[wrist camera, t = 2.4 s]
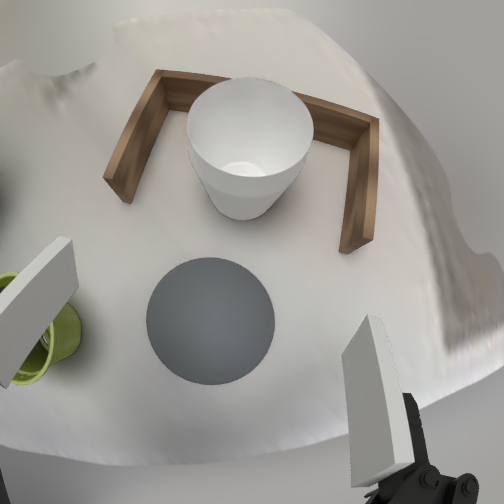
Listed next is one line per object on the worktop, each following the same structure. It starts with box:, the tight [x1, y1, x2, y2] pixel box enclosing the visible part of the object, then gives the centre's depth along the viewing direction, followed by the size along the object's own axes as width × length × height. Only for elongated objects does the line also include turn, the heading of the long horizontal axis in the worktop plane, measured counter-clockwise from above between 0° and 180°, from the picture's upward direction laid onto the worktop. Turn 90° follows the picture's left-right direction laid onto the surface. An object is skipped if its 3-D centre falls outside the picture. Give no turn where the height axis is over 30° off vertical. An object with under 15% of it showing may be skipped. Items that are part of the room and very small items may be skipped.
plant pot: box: [0, 272, 82, 385], centre depth 22 cm, size 9×9×9 cm
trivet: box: [146, 258, 274, 385], centre depth 28 cm, size 12×12×1 cm
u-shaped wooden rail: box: [103, 69, 379, 254], centre depth 29 cm, size 14×24×6 cm, turn 77°
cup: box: [187, 78, 314, 220], centre depth 25 cm, size 9×9×12 cm
